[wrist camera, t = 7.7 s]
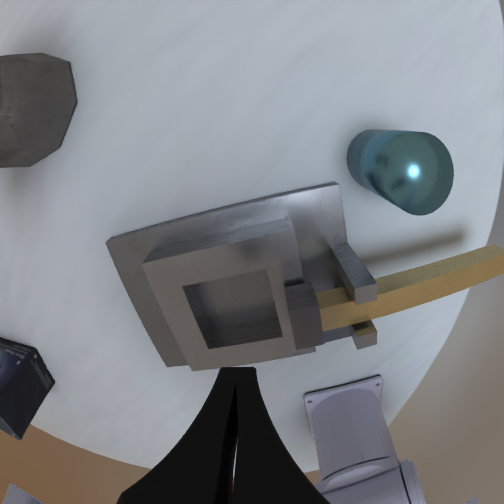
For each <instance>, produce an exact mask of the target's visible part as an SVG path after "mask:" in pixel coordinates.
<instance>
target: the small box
mask: <svg viewBox="0 0 504 504" xmlns="http://www.w3.org/2000/svg"><path fill="white" fill-rule="evenodd" d="M54 384H55V382H54V381H53V379H52V378H51V376H50V374H49V372H48V371H47V369H46V367H45V365H44V363H43V361H42V359H41V358H40V356H39V354H38V352H37V350H36V349H35V348H31V347H28V346H25V345H21V344H18V343H15V342H11V341H8V340H5V339H2V338H0V429H1V430H3V431H5V432H6V433H8V434H10V435H11V436H13V437H15V438H17V439H18V440H21V439H22V437H23V435H24V433H25V431H26V430H27V428H28V426H29V424H30V423H31V421H32V419H33V418H34V416H35V414H36V412H37V410H38V409H39V407H40V405H41V404H42V402H43V401H44V399H45V397H46V396H47V394H48V393H49V391H50V390H51V388H52V387H53V385H54Z"/></svg>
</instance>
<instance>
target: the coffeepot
mask: <svg viewBox="0 0 504 504" xmlns="http://www.w3.org/2000/svg"><path fill="white" fill-rule="evenodd" d="M75 104H76V95H75V85H74V79H73V76H72V73H71V71H70V67H69V62H68V61H65V60H62V59H59V58H56V57H53V56H49V55H46V54H43V53H31V54H16V55H5V56H0V168H6V167H30V166H32V165H33V164H35V163H36V162H38V161H40V160H41V159H43V158H45V157H46V156H48V155H49V154H50V153H52V152H53V151H55V150H57V149H58V148H59V146H60V144H61V142H62V140H63V137H64V135H65V133H66V131H67V129H68V127H69V124H70V121H71V118H72V114H73V109H74V106H75Z"/></svg>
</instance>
